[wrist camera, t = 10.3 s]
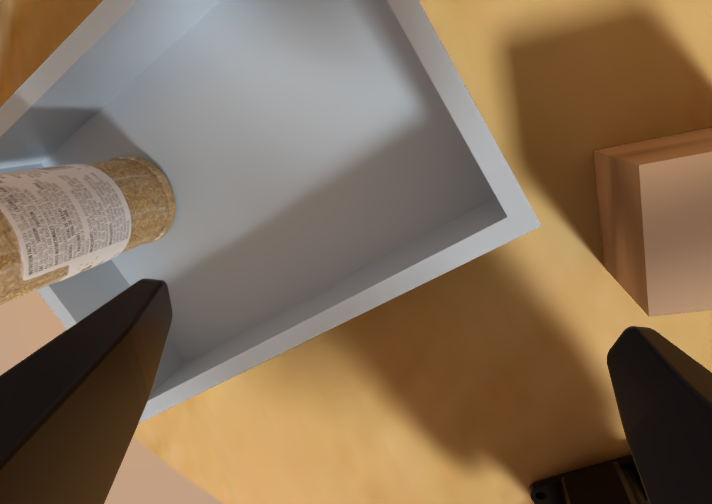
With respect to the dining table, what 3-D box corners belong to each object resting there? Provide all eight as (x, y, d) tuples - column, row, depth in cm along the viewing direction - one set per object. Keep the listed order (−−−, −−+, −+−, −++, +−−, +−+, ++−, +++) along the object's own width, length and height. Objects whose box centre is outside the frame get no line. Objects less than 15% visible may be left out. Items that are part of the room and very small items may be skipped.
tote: (524, 199, 19) (541, 225, 15) (190, 372, 26) (138, 423, 22) (343, -131, 17) (304, -210, 13) (33, 156, 24) (-58, 167, 20)
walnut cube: (741, 247, 18) (840, 297, 13) (603, 266, 19) (649, 316, 14) (739, 121, 16) (849, 126, 12) (592, 150, 18) (638, 165, 13)
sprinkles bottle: (111, 240, 24) (-280, 388, 11) (92, 153, 22) (-376, 211, 10) (187, 243, 23) (-148, 408, 10) (173, 151, 21) (-235, 213, 9)
